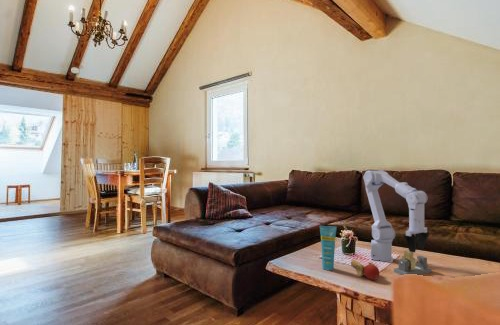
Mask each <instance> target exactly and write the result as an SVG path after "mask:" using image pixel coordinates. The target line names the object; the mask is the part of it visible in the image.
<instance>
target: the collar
mask: <svg viewBox="0 0 500 325" xmlns="http://www.w3.org/2000/svg"><path fill="white" fill-rule="evenodd" d="M401 259H405V260H408V261H409V265H408V269H410V270H413V269H415V265H416V263H415V259H416V258H415V257H414V252H410V251H409V249H407V250H406V249H405V250H403V255H402V256H401Z"/></svg>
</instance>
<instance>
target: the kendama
mask: <svg viewBox="0 0 500 325" xmlns="http://www.w3.org/2000/svg"><path fill="white" fill-rule="evenodd" d="M350 265H351V267H353V268H355V270H356V273H357V275H358V276H359V277H364V276H365V278H367V279H368V280H372V281H376V279H377V280H378V278H379V277H380V270H379V267H378V266H377V265H375V263H373V262H371V261H370V262H368V263H367V264H366V265H364V264H363V263H361V262H358V261H357V260H355V259H352V260H351V261H350Z"/></svg>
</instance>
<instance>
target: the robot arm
mask: <svg viewBox="0 0 500 325" xmlns="http://www.w3.org/2000/svg"><path fill="white" fill-rule="evenodd" d="M362 180H363V181H364V182H363V183H364V186H365V192H366V195H367V198H368V204H369V206H370V210H371V213H372V217H373V221H374V223H372V224H371V226H370V227H371V237H372V238H373V239H371V241H370V243H371V244H370V259H371V260H372V259H373V261H379V260H380V262H381V261H382V262H386V263H387V262H388V263H393V261H394V260H393V256H392V254H393V253H392V252H393V251H392V250H393V248H392V244H393V242H394V239H395V237H396V231H395V229H394V228H393V225H392V223H391V222H390V221H388V220H387V219H386V215H385V211H384V208H383V204H382V201H381V197H380V194H379V188H381V186H383V185H384V184H387V186H389V187H392V188H393V189H394V191H395V193H396V194H398V195H399V196H401V197H402V198H404V199H405V200H406V203H407V206H408V215H409V216H408V223H409V224H408V226H409V227H408V229H407V230H405V233H404V234H403V237H404V239H405V241H406V244H407V247H408V251H410V252H413V253H416V250H417V248H418V249H420V250H424V249H425V247H426V243H427V240H428V238H429V236H430V235H431V234H430V232H428V227H426V226H425V204H426V203H427V202H428V198H429V197H428V195H427V193H426V192H425V191H424V190H417V188H416V187H412V186H410V185H409V183H408V182H404V181H402V182H400V181H398V180H397V179H395V178H394V177H392V175H390V174H389V173H388V172H387V171H385V170H382V169H381V170H369V169H368V170H366V171H365V173H364V175H363V177H362Z"/></svg>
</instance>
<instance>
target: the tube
mask: <svg viewBox="0 0 500 325" xmlns="http://www.w3.org/2000/svg"><path fill="white" fill-rule="evenodd" d="M337 227H338V226H334V225H333V226H329V225H328V226H327V225H319V232H320V242H321V264H322V267H321V268H322V269H323V270H326V271H332V270H334V267H335V266H334V265H335V248H336V235H337Z"/></svg>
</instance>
